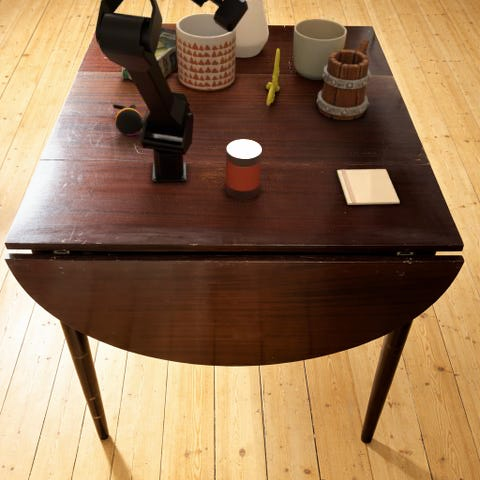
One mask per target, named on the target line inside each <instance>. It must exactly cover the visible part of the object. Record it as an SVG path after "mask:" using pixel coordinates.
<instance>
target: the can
mask: <svg viewBox="0 0 480 480" xmlns="http://www.w3.org/2000/svg"><path fill="white" fill-rule="evenodd" d="M225 149H226V153H225V154H226V155H225V193H226V194H227V196H229V197H231V198H232V199H235V200H239V201H247V200H251V199H254V198H255V197H257V196H258V195H259V192H260V184H261V171H262V146H261V145H260V144H259V143H258V142H256V141H254V140H250V139H236V140H233V141H231V142H229V143H228V144H227V146H226V148H225Z"/></svg>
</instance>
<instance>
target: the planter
mask: <svg viewBox="0 0 480 480" xmlns="http://www.w3.org/2000/svg"><path fill="white" fill-rule="evenodd" d="M293 27H294V28H293V44H292V45H293V47H292V48H293V49H292V54H293V55H292V59H293V66H294V69H295V71H296V73H298V74H299V75H300V76H302V77H303V78H305V79H307V80H311V81H324V79H323V77H322V75H323V71H324V67H325V66H326V65H327V64H328V60H329V55H330V54H331V53H333V52H335V51H338V52H339V50H345V45H346V39H347V33H348V30H347V28H346V27H345V25H342V23H339V22H337V21H334V20H330V19H324V18H309V19H303V20H300V21H298V22H297V23H296V24H295V25H294V26H293Z"/></svg>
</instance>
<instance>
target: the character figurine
mask: <svg viewBox="0 0 480 480" xmlns="http://www.w3.org/2000/svg"><path fill="white" fill-rule="evenodd" d="M112 107H113V109H116V110H119V111H118V112H117V114H115V119H114V122H115V126H116V129H117V130H118V132H119V133H120V134H122V135H124V136H128V137H132V136H136V135H137V134H139V133H140V132H141V130H143V125H144V119H143V117H142V114H141V113H140V112H139V111H138V110H137V106H136V105H135V104H131V105H130V106H129V107H127V106H124V105H121V104H116V103H115V104H113V105H112Z"/></svg>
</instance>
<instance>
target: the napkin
mask: <svg viewBox="0 0 480 480" xmlns="http://www.w3.org/2000/svg"><path fill="white" fill-rule="evenodd" d="M336 174H337V176H338V180H339V182H340V185H341V189H342V191H343V194H344V198H345V201H346V204H347V205H348V206H350V205H351V206H353V205H354V206H355V205H394V204H399V205H400V199H399V197H398V195H397V192H396V190H395V188H394V187H395V186H394V185H393V183H392V180H391V179H390V176H389V173H388V171H387V169H386V168H375V169H373V168H371V169H370V168H369V169H368V168H367V169H344V168H343V169H337V170H336Z"/></svg>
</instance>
